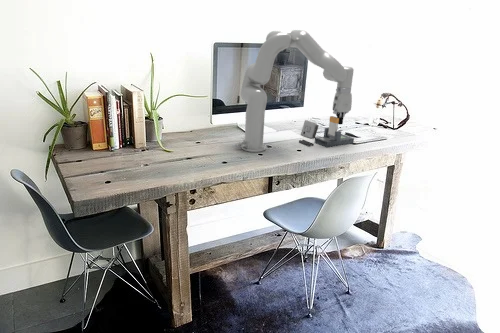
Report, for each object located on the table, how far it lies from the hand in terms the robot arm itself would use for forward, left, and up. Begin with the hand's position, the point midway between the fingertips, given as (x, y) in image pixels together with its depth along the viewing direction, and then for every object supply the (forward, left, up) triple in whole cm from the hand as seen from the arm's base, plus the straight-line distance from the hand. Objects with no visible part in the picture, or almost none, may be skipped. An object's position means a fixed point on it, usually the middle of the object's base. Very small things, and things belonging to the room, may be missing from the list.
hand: (339, 123), depth 213 cm
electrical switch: (-6, +17, -11) cm, 21 cm away
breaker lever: (-4, 0, -6) cm, 8 cm away
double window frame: (-2, 0, -11) cm, 11 cm away
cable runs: (-18, +5, -11) cm, 22 cm away
